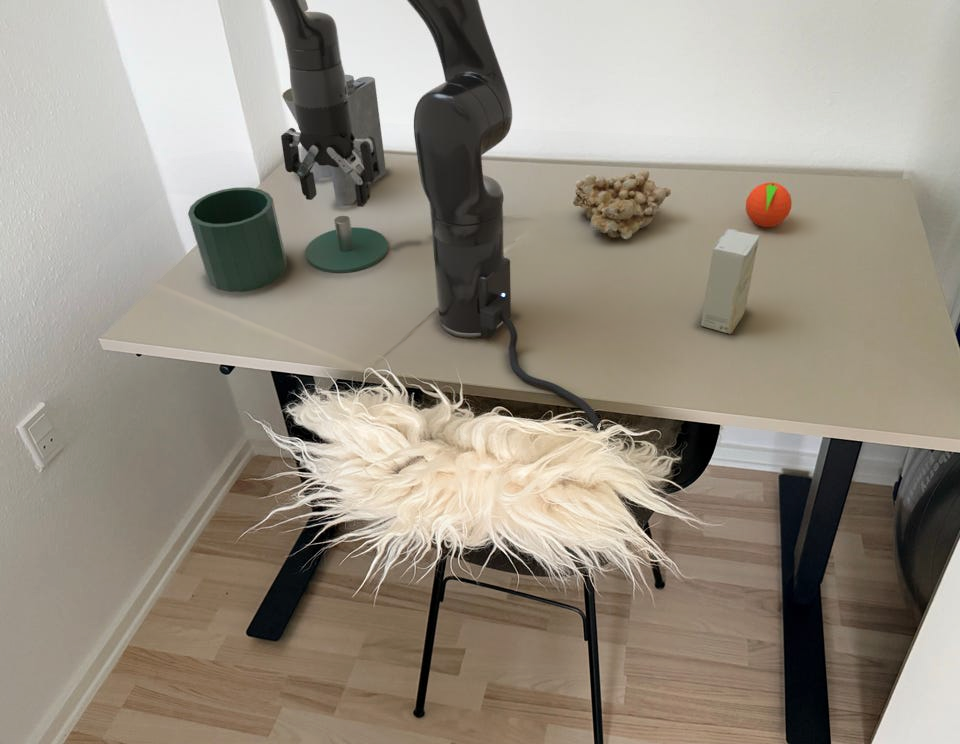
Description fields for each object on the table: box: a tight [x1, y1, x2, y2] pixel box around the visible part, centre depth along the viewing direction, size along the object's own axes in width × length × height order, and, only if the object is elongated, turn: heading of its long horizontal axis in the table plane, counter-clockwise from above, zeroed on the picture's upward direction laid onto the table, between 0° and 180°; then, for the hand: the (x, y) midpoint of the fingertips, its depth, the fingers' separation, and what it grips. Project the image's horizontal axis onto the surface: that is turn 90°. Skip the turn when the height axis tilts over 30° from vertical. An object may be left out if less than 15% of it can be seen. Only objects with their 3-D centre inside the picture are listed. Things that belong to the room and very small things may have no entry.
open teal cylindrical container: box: [187, 187, 288, 293], centre depth 120 cm, size 12×12×12 cm
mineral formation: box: [572, 169, 672, 240], centre depth 129 cm, size 8×13×15 cm
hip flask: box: [330, 74, 387, 207], centre depth 138 cm, size 16×4×20 cm, turn 159°
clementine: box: [745, 181, 793, 228], centre depth 126 cm, size 8×7×7 cm
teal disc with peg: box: [304, 215, 389, 274], centre depth 125 cm, size 13×13×6 cm
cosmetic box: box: [700, 228, 760, 335], centre depth 106 cm, size 6×4×12 cm
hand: (337, 201), depth 121 cm, fingers open, 8 cm apart
